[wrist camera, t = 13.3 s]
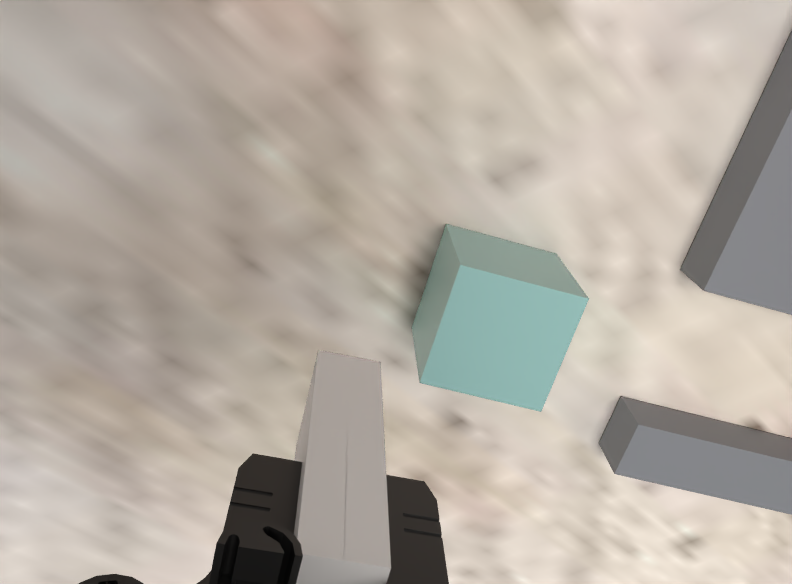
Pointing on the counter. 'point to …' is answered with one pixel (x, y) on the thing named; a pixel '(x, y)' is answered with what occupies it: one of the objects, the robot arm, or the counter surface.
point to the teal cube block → (495, 319)
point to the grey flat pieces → (742, 280)
